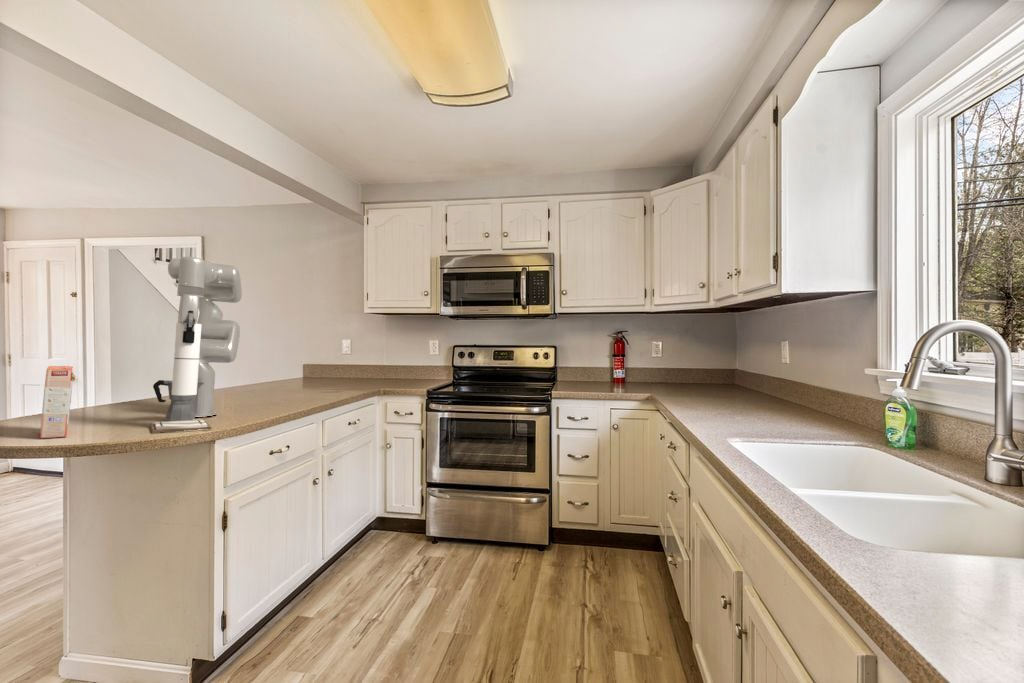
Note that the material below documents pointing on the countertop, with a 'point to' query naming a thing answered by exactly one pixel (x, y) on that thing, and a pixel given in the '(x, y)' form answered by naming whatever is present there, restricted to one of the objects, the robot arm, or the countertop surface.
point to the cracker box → (56, 401)
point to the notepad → (179, 425)
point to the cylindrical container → (186, 362)
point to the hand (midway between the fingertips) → (187, 342)
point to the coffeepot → (177, 403)
